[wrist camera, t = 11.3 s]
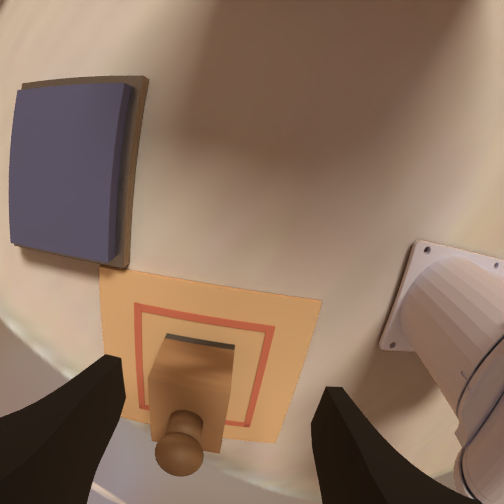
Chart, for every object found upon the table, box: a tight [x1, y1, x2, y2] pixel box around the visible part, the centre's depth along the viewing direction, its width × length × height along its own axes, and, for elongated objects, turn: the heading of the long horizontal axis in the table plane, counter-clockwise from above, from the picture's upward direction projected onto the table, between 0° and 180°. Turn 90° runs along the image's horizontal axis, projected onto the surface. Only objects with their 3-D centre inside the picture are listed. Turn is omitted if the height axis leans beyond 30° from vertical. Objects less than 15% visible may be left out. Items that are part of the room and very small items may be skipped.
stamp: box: [148, 333, 235, 476], centre depth 17 cm, size 4×6×8 cm
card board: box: [99, 265, 322, 443], centre depth 21 cm, size 14×14×1 cm
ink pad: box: [9, 76, 149, 268], centre depth 16 cm, size 9×11×2 cm
